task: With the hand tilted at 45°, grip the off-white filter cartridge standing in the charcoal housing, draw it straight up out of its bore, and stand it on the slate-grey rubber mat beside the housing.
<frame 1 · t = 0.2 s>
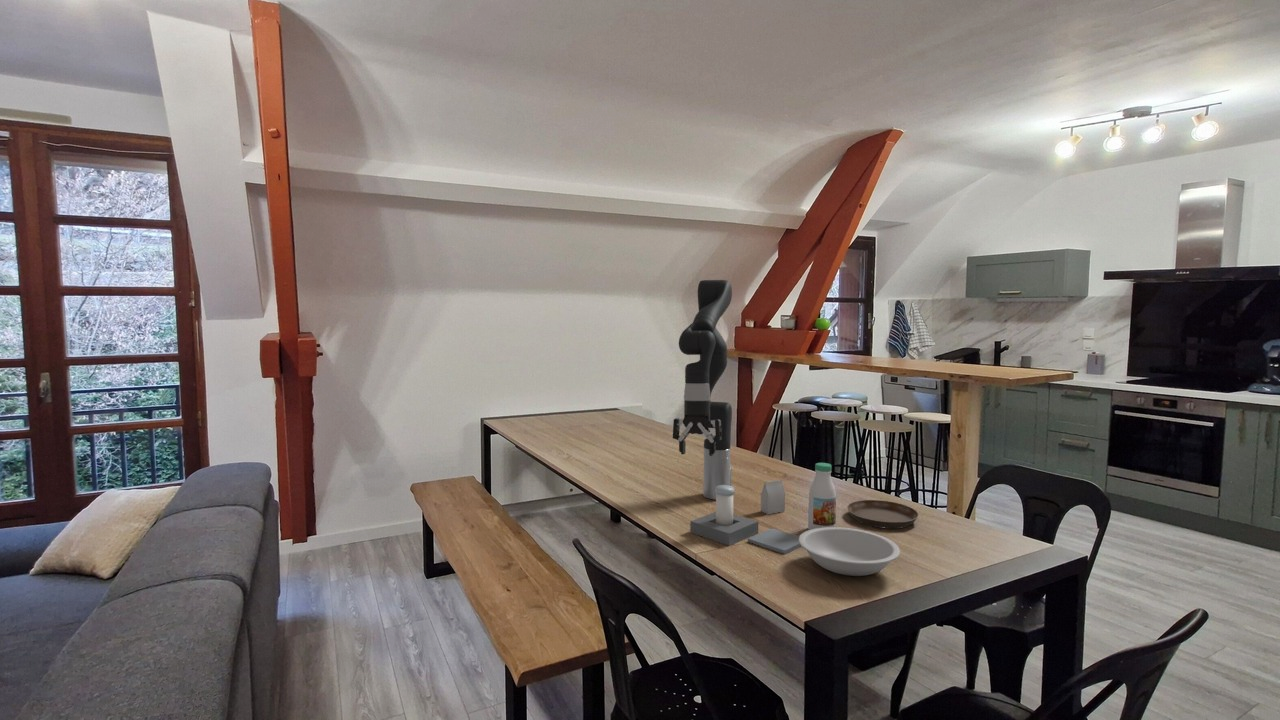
hand: (697, 454, 178), 23 cm above the table, tool pointing down, fingers open, 8 cm apart
white paper packet: (772, 512, 198), on the table
mat: (778, 542, 171), on the table
plant saucer: (881, 520, 191), on the table
housing: (724, 533, 178), on the table
cartridge: (724, 510, 178), in the housing
milk bottle: (821, 531, 180), on the table
soup bowl: (847, 569, 153), on the table
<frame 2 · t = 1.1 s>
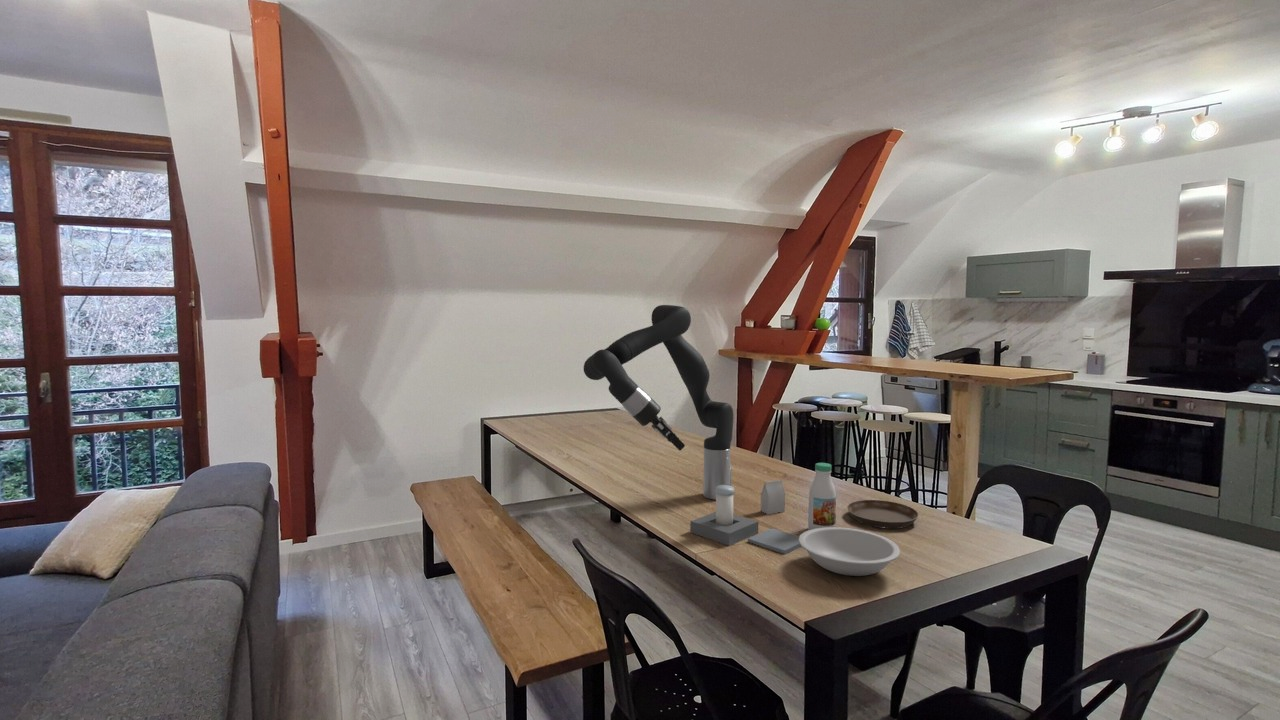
hand: (679, 444, 176), 26 cm above the table, tool tilted 45°, fingers open, 8 cm apart
nothing on the table moved.
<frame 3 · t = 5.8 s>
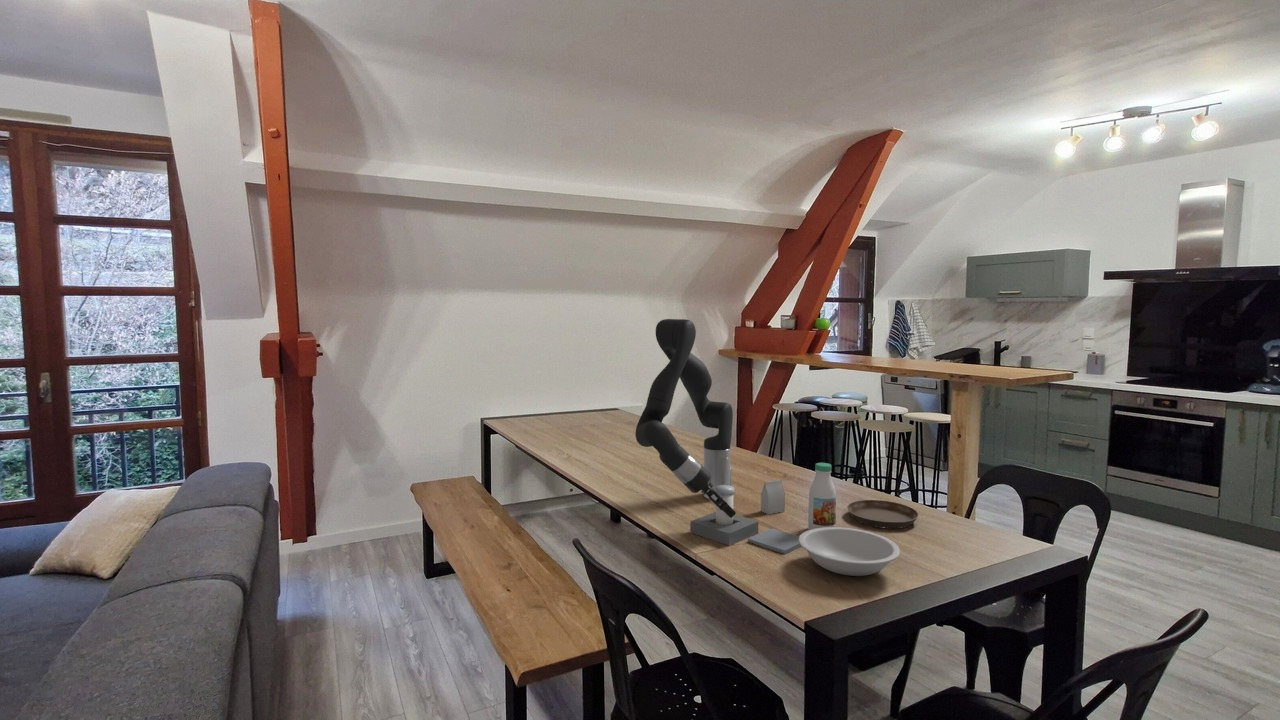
hand: (730, 512, 178), 6 cm above the table, tool tilted 45°, fingers closed on cartridge, 5 cm apart
cartridge: (724, 510, 178), in the housing, touching gripper
everything else where it was.
when the fingers open (8 cm above the table, at t = 12.7 s): cartridge stays where it is, resting on mat.
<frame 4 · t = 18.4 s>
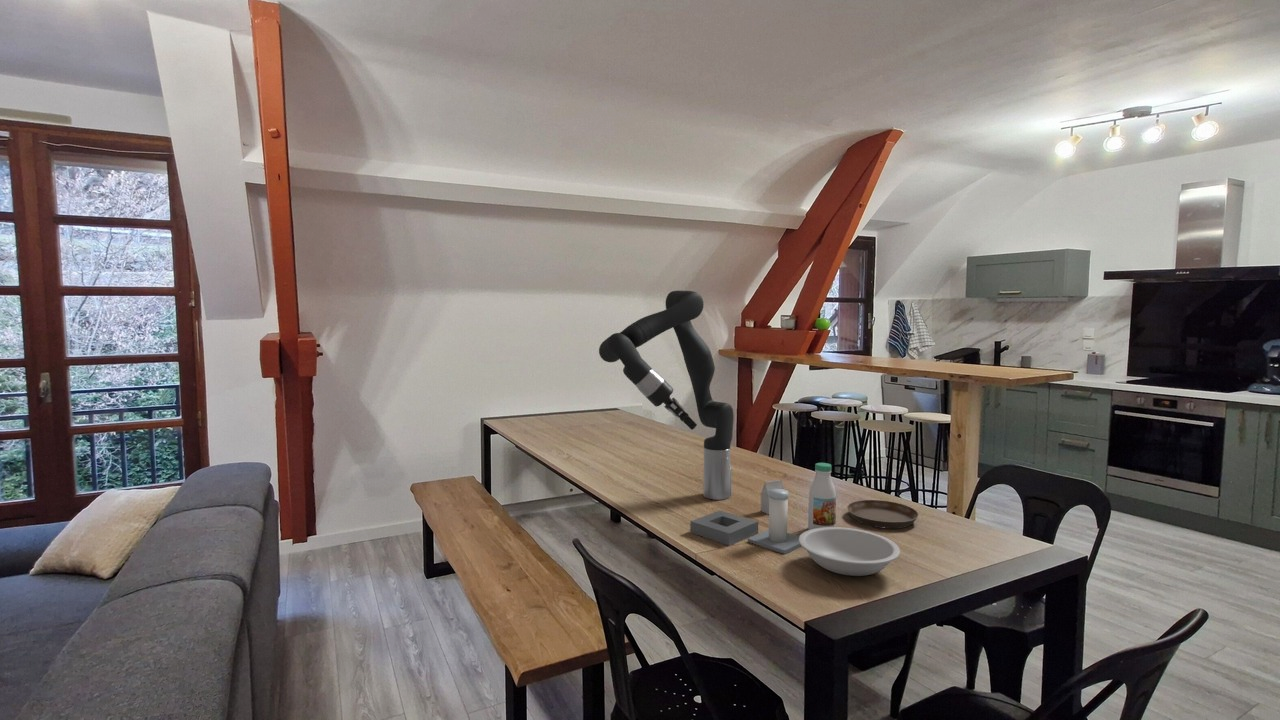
hand: (691, 424, 182), 31 cm above the table, tool tilted 45°, fingers open, 8 cm apart
cartridge: (778, 515, 171), on the mat, point 8 cm above the table
everything else where it was.
at the end: cartridge inside the target area on the mat (0.1 cm from its centre), point 7.8 cm above the mat's base; cartridge tilted 0°; the gripper is holding nothing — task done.
